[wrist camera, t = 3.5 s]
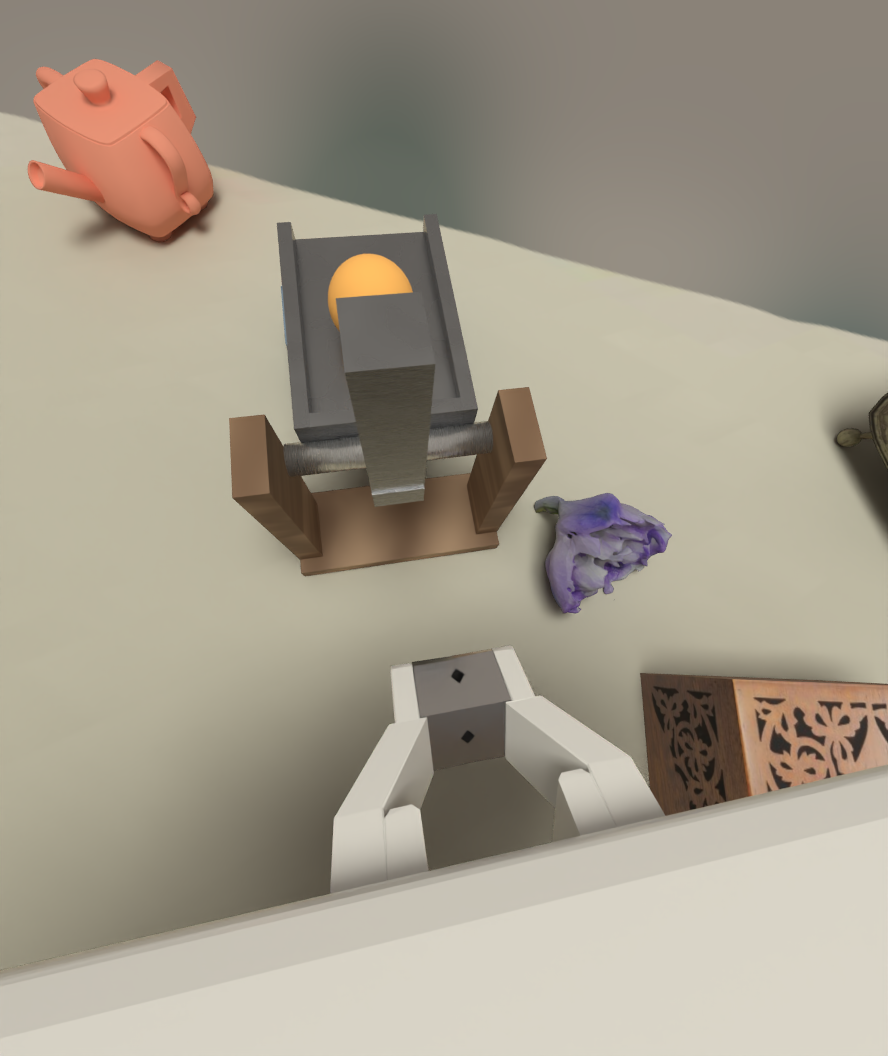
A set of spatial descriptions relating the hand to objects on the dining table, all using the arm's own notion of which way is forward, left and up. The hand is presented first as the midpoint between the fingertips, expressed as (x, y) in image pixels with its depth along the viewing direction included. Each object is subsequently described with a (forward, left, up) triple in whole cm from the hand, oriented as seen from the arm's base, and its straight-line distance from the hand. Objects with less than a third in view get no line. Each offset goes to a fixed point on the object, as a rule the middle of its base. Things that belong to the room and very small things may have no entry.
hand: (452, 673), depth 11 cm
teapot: (-19, +45, -22) cm, 53 cm away
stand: (0, +11, -22) cm, 24 cm away
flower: (+12, +6, -22) cm, 26 cm away
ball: (0, +17, -6) cm, 18 cm away
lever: (0, +15, -10) cm, 18 cm away
